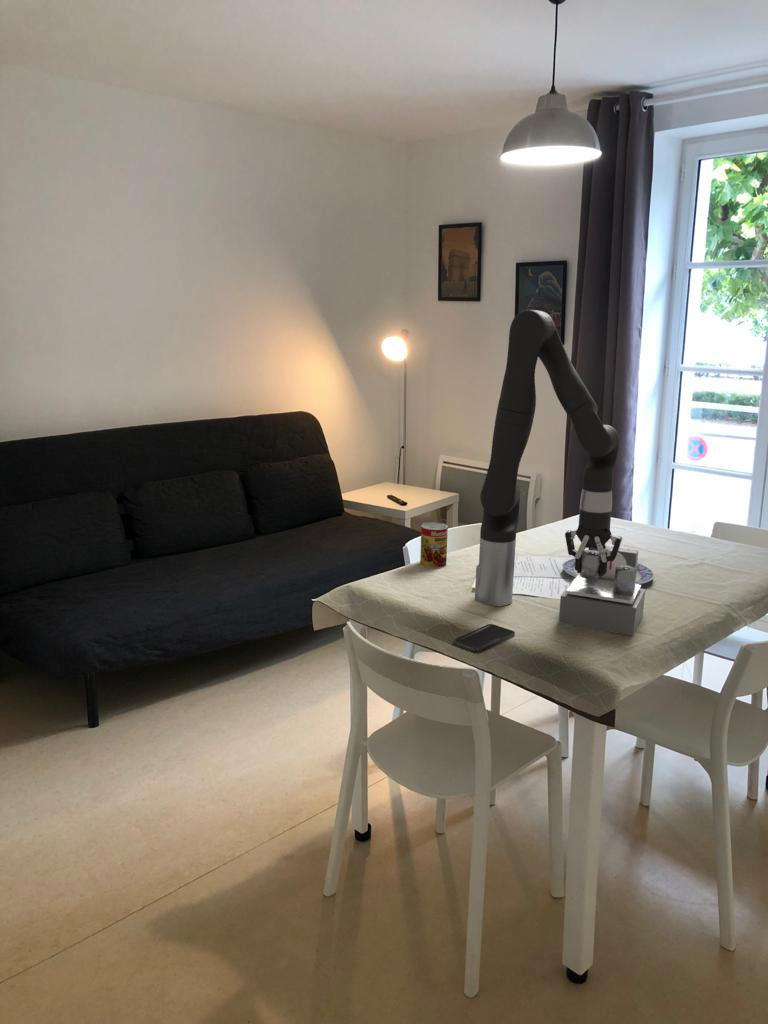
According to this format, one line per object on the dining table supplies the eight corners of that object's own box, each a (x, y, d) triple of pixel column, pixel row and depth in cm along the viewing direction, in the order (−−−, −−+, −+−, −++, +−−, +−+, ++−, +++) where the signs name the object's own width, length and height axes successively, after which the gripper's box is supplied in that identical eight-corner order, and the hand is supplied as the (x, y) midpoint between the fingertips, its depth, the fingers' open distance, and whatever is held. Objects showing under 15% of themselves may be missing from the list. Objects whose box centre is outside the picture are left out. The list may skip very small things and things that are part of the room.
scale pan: (565, 593, 203) (566, 590, 203) (577, 578, 215) (577, 575, 215) (632, 604, 197) (632, 601, 197) (640, 587, 208) (641, 585, 208)
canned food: (436, 570, 243) (438, 530, 240) (415, 564, 248) (416, 526, 245) (451, 563, 249) (452, 525, 246) (429, 558, 254) (430, 520, 251)
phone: (451, 640, 191) (490, 623, 202) (451, 645, 191) (489, 627, 202) (479, 650, 186) (517, 632, 196) (479, 655, 186) (516, 636, 197)
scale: (558, 622, 205) (563, 560, 201) (574, 599, 221) (579, 542, 217) (633, 635, 197) (639, 572, 194) (644, 611, 213) (650, 552, 209)
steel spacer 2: (614, 594, 201) (616, 571, 199) (612, 587, 206) (614, 564, 204) (635, 596, 200) (638, 572, 198) (632, 588, 205) (635, 565, 203)
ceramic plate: (658, 595, 226) (659, 585, 225) (562, 587, 231) (563, 577, 230) (648, 567, 250) (649, 557, 250) (562, 560, 255) (562, 551, 255)
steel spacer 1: (578, 577, 204) (579, 554, 203) (582, 571, 209) (583, 548, 207) (598, 580, 202) (600, 556, 201) (602, 574, 207) (604, 551, 205)
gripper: (562, 507, 201) (558, 574, 205) (623, 514, 195) (617, 582, 199) (569, 501, 207) (565, 565, 212) (628, 507, 202) (622, 573, 206)
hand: (590, 573), depth 205 cm, fingers closed on steel spacer 1, 5 cm apart
